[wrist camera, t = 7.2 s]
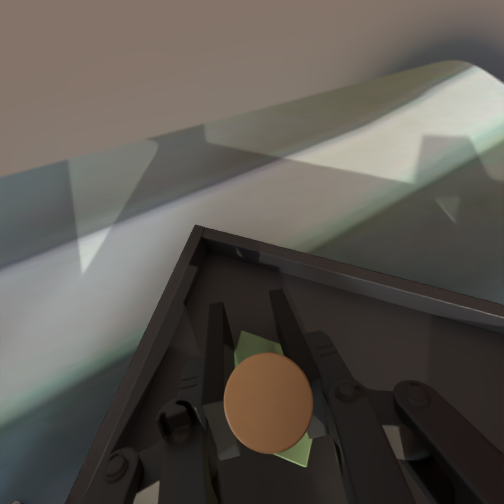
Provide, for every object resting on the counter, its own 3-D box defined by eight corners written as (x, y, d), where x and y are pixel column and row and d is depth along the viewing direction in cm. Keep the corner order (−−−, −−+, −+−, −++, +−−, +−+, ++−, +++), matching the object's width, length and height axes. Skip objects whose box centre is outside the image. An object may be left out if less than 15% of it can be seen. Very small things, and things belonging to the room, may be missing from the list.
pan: (92, 500, 16) (53, 526, 13) (204, 244, 22) (194, 223, 19) (592, 752, 11) (700, 877, 8) (551, 338, 17) (604, 330, 15)
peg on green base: (217, 421, 16) (129, 478, 6) (245, 336, 18) (212, 278, 8) (301, 456, 15) (355, 587, 5) (321, 362, 17) (388, 331, 7)
